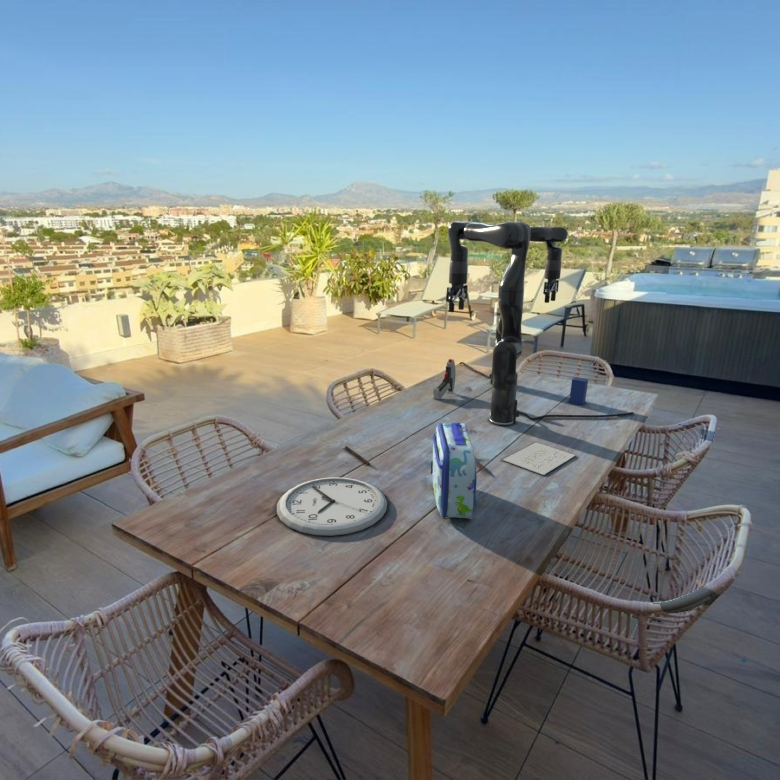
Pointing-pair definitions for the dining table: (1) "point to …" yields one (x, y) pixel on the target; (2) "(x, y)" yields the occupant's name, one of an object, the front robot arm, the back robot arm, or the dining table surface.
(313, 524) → the wall clock
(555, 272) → the back robot arm
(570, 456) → the invitation card
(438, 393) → the toy gun
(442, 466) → the lunch box
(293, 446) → the dining table surface
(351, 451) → the brown wooden stick
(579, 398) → the block
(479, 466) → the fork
